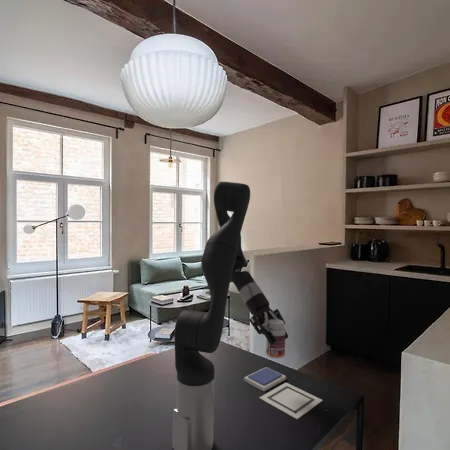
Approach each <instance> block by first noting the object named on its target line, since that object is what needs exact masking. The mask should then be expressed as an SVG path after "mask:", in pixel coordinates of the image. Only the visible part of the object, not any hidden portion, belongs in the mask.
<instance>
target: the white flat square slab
mask: <svg viewBox="0 0 450 450" xmlns="http://www.w3.org/2000/svg"><path fill="white" fill-rule="evenodd" d="M258 399H260V400H261V401H263V402H265V403H267V404H269V405H271V406H272V407H274V408H276V409H278V410H280V411H281V412H284V413H285V414H287V415H289V416H290V417H292V418H294V419H295V420H298V419H300V418H301V417H302V416H304V415H306V413H308V412H309V411H311V410H312V409H313V408H315V407H317V405H318V404H321V402H323V399H321V398H320V397H317V396H315V395H313V394H311V393H309V392H307V391H305V390H303V389H300V388H298V387H296V386H294V385H292V384H290V383H288V382H284V383H283V384H281V385H279V386H276V387H275V388H274V389H271V390H270V391H269V392H267V393H264V394H263V395H261V396H260V397H259V398H258Z"/></svg>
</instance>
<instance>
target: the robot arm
mask: <svg viewBox="0 0 450 450" xmlns="http://www.w3.org/2000/svg"><path fill="white" fill-rule="evenodd" d="M250 200H251V189H250V185H248V184H246V183H241V182H233V181H219V182H217V184H216V185H215V187H214V192H213V204H214V210H215V213H216V218H217V222H218V225H219V228H218V229H217V230H216V231H215V232H214V233H212V235H210V237H209V238H208V239H207V241H206V243H205V247H204V250H203V254H202V257H201V262H200V263H201V264H200V265H201V270H202V274H203V276H204V279H205V281H206V284H207V287H208V290H209V294H210V302H209V308H208V312H207V311H206V312H205V311H199V310H192V309H185V310H182V311H181V312H180V313H179V314H178V316H177V318H176V321H175V325H174V336H173V338H174V362H175V363H174V367H175V370H176V407H175V408H173V409H172V439H171V440H172V444H171V445H172V446H171V447H172V448H173V450H212V449H213V448H214V417H215V415H214V412H215V410H214V409H215V408H214V407H215V373H216V372H215V371H216V370H215V365H214V363H213V362H212V361H211V360H210V359H208V358H207V357H206V356H204V355H203V354H201V353H206V354H212V353H215V352H216V351H217V349H218V348H219V345H220V342H221V340H222V336H223V335H222V334H223V328H224V321H225V315H226V307H227V301H228V300H227V299H228V294H229V291H230V290H229V289H230V285H231V282H232V283H233V285H234V286H235V288H236V289H237V291H238V293H239V295H240V297H241V299H242V301H243V302H244V304H245V306H246V308H247V310H248V312H249V313H250V314H251V317H250V318H249V319H248V320H249V322H250V323H251V325H252V327H253V328H254V330H255V331H256V332H257V334H258V335H263V336H265V338H266V341H267V340H268V342H269V343H270V344H271V345H273V344H274V343H275V342H276V340H275V338H274V336H273V335H272V333H271V331H269V326H268V325H269V322H268V321H269V320H271V319H278V320H282V321H283V322H284V325H285V324H286V322H285V320H284V318H283V316H282V314H281V312H280V310H279V309H278V308H276V309H275V310H273V309H272V308H270V301H269V299H267V297H266V295H265V294H264V292H263V291H262V289H261V287H260V286H259V285H258V284H257V282H256V280H255V279H254V277H253V276H252V275H251V273H250V272H249V271H247V270H242V271H239V270H240V269H242V268H244V267H245V266H246V263H247V261H246V256H245V255H244V252H243V249H242V234H241V233H242V228H243V227H244V222H245V218H246V215H247V211H248V209H249V208H248V207H249V205H250ZM228 212H231V213H232V215H231V216H230V214H229V213H228ZM283 329H284V330H285V340H287V339H288V338H289V335H288V333H287V331H286V329H285V328H283Z"/></svg>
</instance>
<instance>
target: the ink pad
mask: <svg viewBox="0 0 450 450" xmlns="http://www.w3.org/2000/svg"><path fill="white" fill-rule="evenodd" d="M286 378H287V376H286V375H285V374H282V373H280V372H278V371H277V370H276V371H275V370H273V369H271V368H270V367H267V366H265V367H264V368H261V369H259V370H257V371H255V372H253V373H251V374H248V375H247V376H246V375H245V376H244V378H243V382H245V383H247V384H248V385H251V386H253V387H254V388H257V389H258V390H260V391H262V392H266V391H267V390H270V389H271V388H273V387H275V386H277V385H279V384H280V383H282V382H284V381H285V380H286Z"/></svg>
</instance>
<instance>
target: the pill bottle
mask: <svg viewBox="0 0 450 450" xmlns="http://www.w3.org/2000/svg"><path fill="white" fill-rule="evenodd" d="M268 322H269V325H268V326H269V331H271V333H272V335H273V336H274V338H275V340H276V342H275V343H274V344H273V345H271V344H270V343H269V342H268V340H267V339H266V341H265V342H266V348H265V349H266V350H265V354H266V355H267V356H268V357H269V358H271V359H283V358H285V353H286V339H285V331H286V329H285V328H284V327H285V324H284V322H283V321H282V320H278V319H271V320H269V321H268ZM283 328H284V329H285V330H284V329H283Z"/></svg>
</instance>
